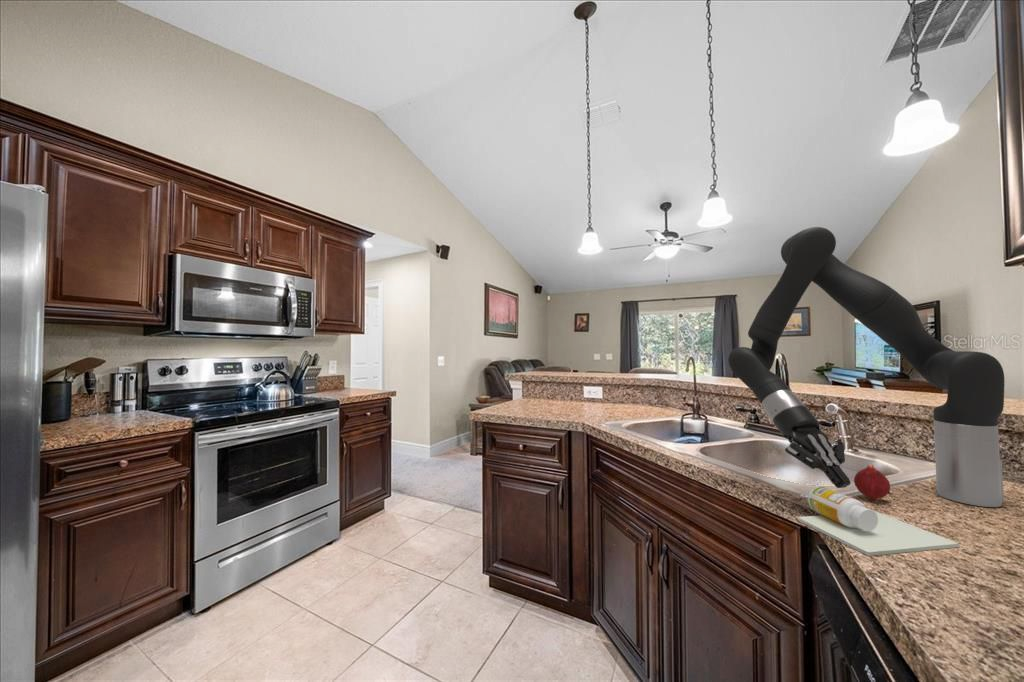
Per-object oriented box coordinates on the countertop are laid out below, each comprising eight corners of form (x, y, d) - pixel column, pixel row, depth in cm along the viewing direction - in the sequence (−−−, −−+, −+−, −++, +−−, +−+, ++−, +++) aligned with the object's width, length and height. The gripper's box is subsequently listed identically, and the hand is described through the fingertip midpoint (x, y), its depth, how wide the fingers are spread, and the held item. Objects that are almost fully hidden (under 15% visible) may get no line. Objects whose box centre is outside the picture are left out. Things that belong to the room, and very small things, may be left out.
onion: (898, 506, 80) (896, 469, 80) (867, 504, 81) (865, 467, 81) (877, 496, 85) (876, 461, 85) (848, 494, 86) (847, 460, 87)
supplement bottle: (825, 516, 76) (875, 540, 66) (803, 506, 76) (850, 528, 66) (834, 491, 76) (886, 512, 67) (812, 481, 76) (861, 500, 66)
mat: (875, 513, 76) (875, 511, 76) (958, 547, 63) (958, 543, 63) (797, 520, 74) (797, 517, 74) (868, 555, 61) (868, 552, 61)
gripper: (772, 405, 82) (828, 479, 70) (824, 403, 84) (887, 475, 72) (754, 424, 87) (803, 496, 75) (803, 422, 89) (859, 492, 77)
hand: (844, 486), depth 73 cm, fingers closed
